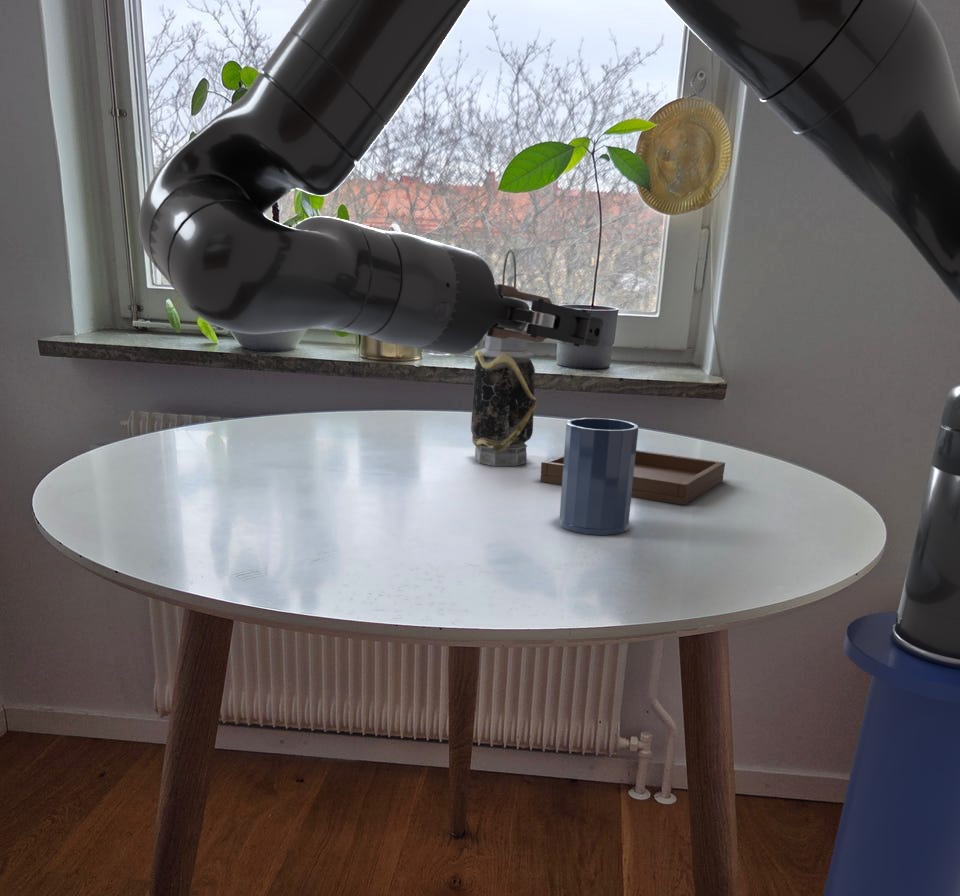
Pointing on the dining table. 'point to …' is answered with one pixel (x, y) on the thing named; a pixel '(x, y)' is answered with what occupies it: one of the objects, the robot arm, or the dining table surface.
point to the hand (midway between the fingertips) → (559, 325)
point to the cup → (598, 475)
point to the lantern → (503, 399)
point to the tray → (658, 476)
